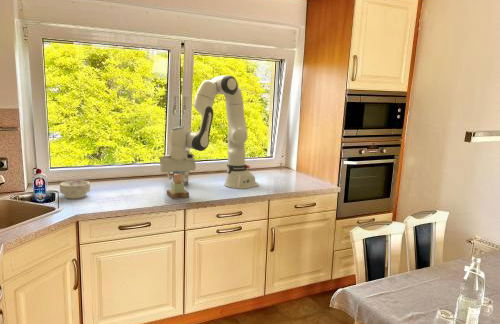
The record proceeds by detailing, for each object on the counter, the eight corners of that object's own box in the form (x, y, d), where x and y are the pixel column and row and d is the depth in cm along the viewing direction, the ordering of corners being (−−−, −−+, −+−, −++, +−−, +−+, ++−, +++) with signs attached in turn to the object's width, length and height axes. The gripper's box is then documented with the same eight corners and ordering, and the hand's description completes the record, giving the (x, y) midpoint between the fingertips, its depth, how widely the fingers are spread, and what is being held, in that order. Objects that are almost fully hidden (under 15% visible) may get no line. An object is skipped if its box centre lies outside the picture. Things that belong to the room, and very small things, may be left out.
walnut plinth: (183, 192, 226) (183, 188, 226) (189, 197, 218) (189, 192, 217) (167, 194, 222) (167, 189, 221) (172, 198, 213) (172, 194, 213)
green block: (184, 192, 218) (184, 183, 217) (174, 192, 216) (174, 184, 215) (181, 189, 223) (181, 181, 222) (172, 190, 220) (172, 182, 219)
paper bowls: (82, 191, 220) (81, 178, 219) (95, 196, 211) (95, 183, 209) (55, 196, 209) (54, 182, 207) (68, 202, 199) (67, 187, 198)
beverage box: (177, 186, 241) (178, 151, 236) (173, 182, 250) (173, 149, 246) (188, 185, 244) (188, 151, 239) (183, 181, 253) (183, 148, 249)
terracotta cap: (182, 183, 218) (182, 175, 217) (175, 184, 215) (175, 175, 215) (180, 181, 221) (180, 173, 220) (173, 182, 219) (173, 173, 218)
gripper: (161, 156, 208) (161, 181, 210) (196, 155, 217) (196, 178, 220) (158, 154, 213) (158, 178, 216) (193, 153, 223) (192, 176, 225)
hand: (178, 178), depth 218 cm, fingers open, 8 cm apart
